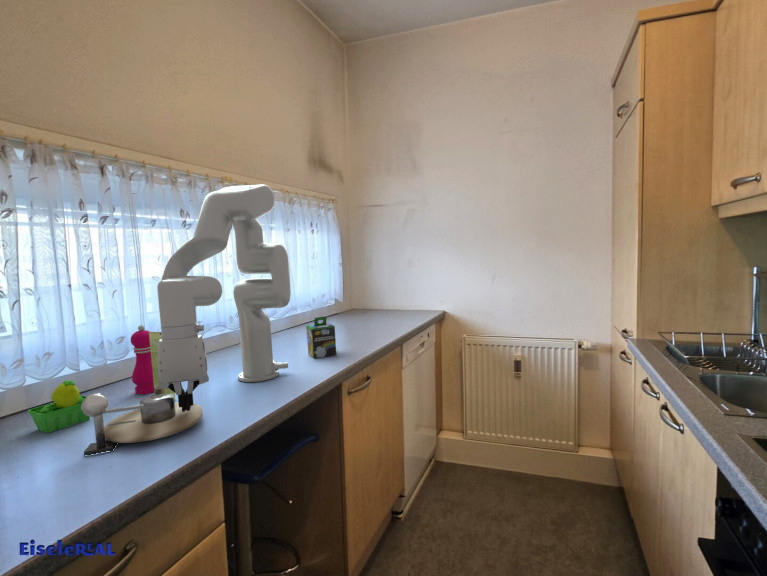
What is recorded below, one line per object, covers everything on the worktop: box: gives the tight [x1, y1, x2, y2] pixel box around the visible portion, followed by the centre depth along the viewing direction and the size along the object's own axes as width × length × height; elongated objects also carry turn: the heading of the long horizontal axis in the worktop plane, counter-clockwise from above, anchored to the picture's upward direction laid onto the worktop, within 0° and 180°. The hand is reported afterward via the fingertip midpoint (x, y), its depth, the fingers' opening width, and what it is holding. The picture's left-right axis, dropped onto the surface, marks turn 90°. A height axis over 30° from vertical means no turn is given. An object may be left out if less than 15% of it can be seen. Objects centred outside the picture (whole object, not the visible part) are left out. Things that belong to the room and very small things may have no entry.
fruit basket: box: [27, 379, 91, 434], centre depth 102 cm, size 11×9×11 cm
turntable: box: [104, 386, 204, 444], centre depth 97 cm, size 20×20×6 cm
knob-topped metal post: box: [81, 392, 144, 457], centre depth 88 cm, size 11×4×12 cm, turn 109°
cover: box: [139, 394, 176, 424], centre depth 97 cm, size 7×7×5 cm
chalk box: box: [305, 316, 337, 360], centre depth 161 cm, size 9×9×15 cm
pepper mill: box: [130, 324, 154, 395], centre depth 125 cm, size 7×7×20 cm
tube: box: [149, 331, 176, 400], centre depth 115 cm, size 6×5×20 cm
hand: (186, 409), depth 99 cm, fingers closed
